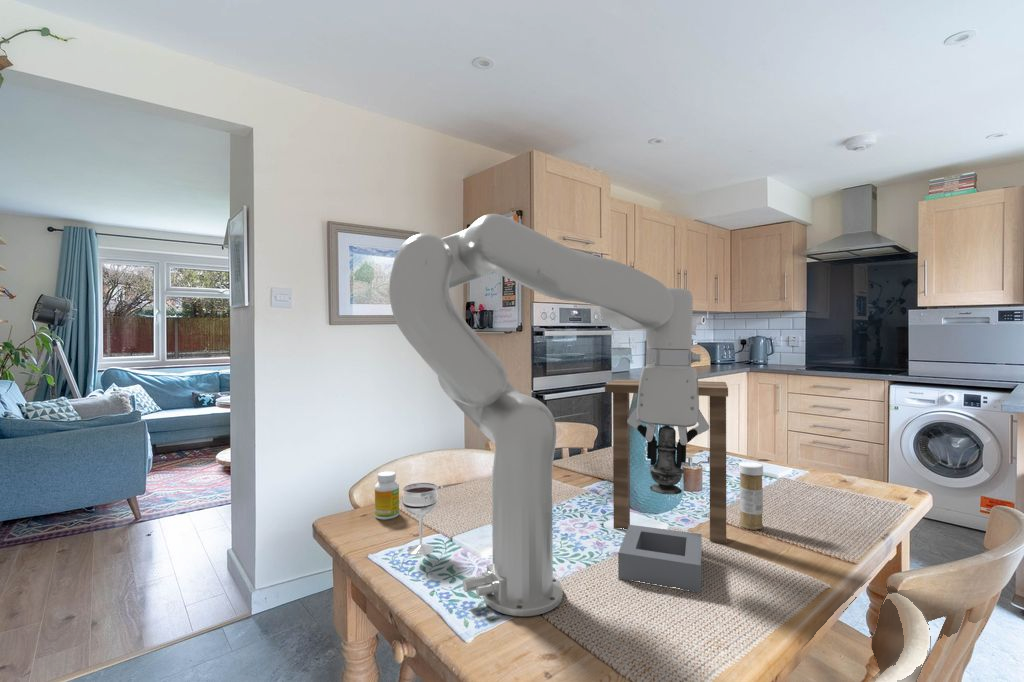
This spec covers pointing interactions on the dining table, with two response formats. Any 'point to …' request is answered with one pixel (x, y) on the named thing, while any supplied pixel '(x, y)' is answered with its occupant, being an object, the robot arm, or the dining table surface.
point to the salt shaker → (666, 464)
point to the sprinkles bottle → (751, 495)
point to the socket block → (661, 557)
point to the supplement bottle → (386, 496)
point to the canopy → (717, 452)
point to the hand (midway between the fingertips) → (666, 463)
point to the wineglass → (420, 509)
